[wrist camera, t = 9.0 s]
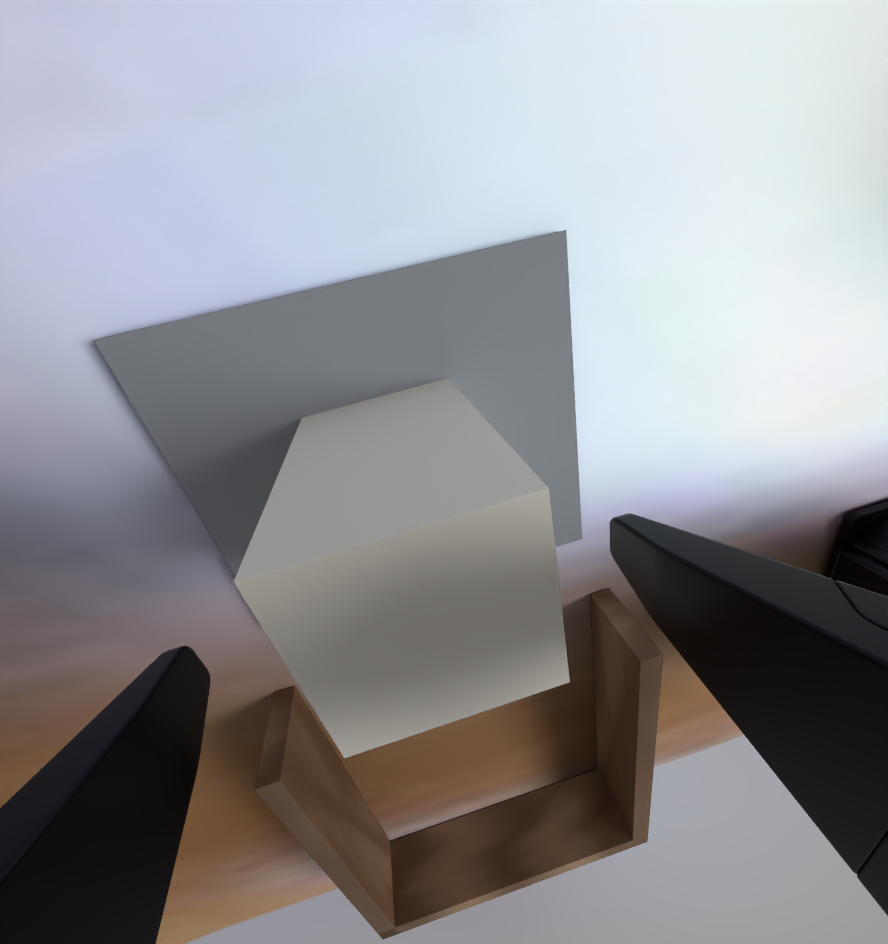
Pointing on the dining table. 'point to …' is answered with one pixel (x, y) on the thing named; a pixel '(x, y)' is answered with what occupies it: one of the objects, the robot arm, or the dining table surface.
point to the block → (407, 568)
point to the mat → (359, 373)
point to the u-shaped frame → (485, 831)
